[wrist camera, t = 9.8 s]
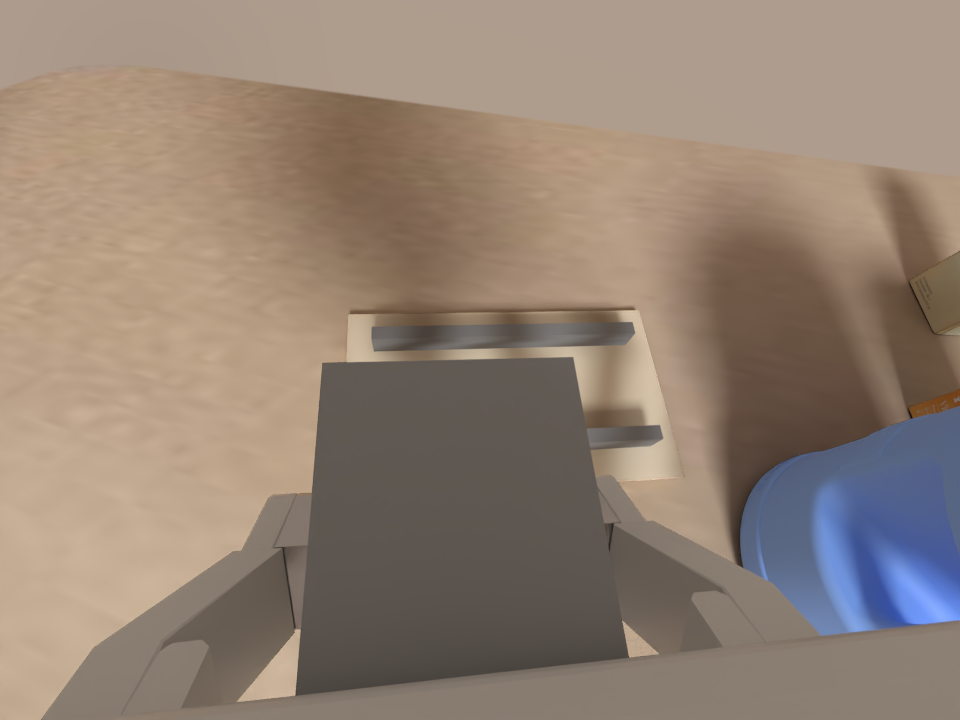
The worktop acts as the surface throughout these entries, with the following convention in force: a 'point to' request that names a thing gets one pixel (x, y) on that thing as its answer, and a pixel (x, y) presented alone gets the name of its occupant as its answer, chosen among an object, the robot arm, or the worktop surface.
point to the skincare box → (940, 295)
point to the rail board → (579, 334)
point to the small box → (936, 404)
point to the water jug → (864, 528)
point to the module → (453, 526)
